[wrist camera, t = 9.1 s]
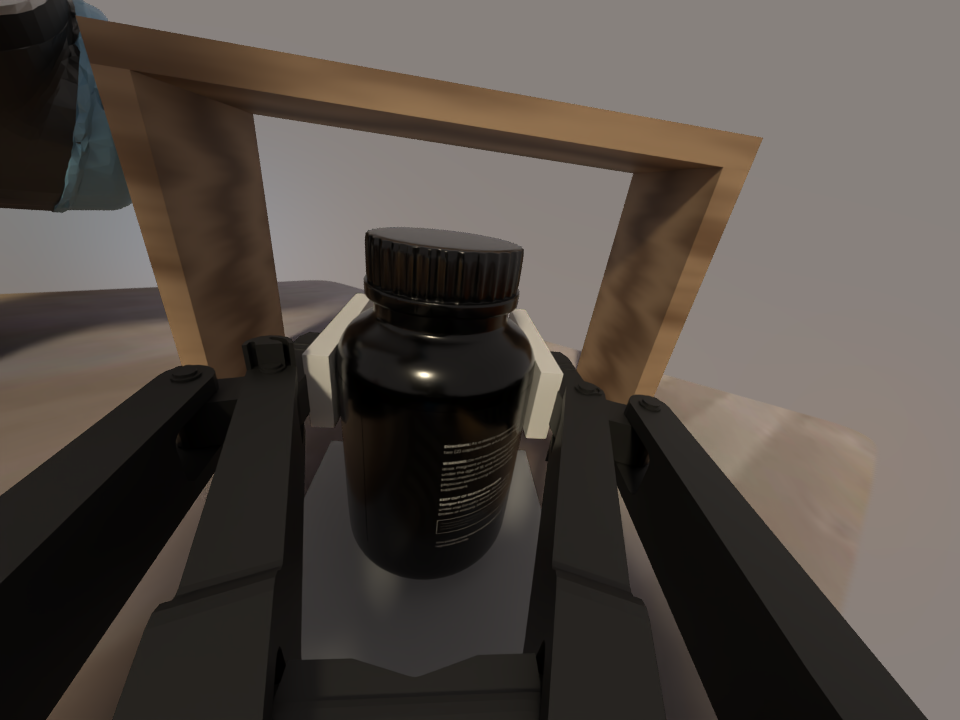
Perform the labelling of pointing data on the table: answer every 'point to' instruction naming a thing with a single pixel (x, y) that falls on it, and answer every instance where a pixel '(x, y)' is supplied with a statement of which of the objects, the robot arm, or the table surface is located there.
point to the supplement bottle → (433, 398)
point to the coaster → (412, 587)
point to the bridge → (404, 113)
